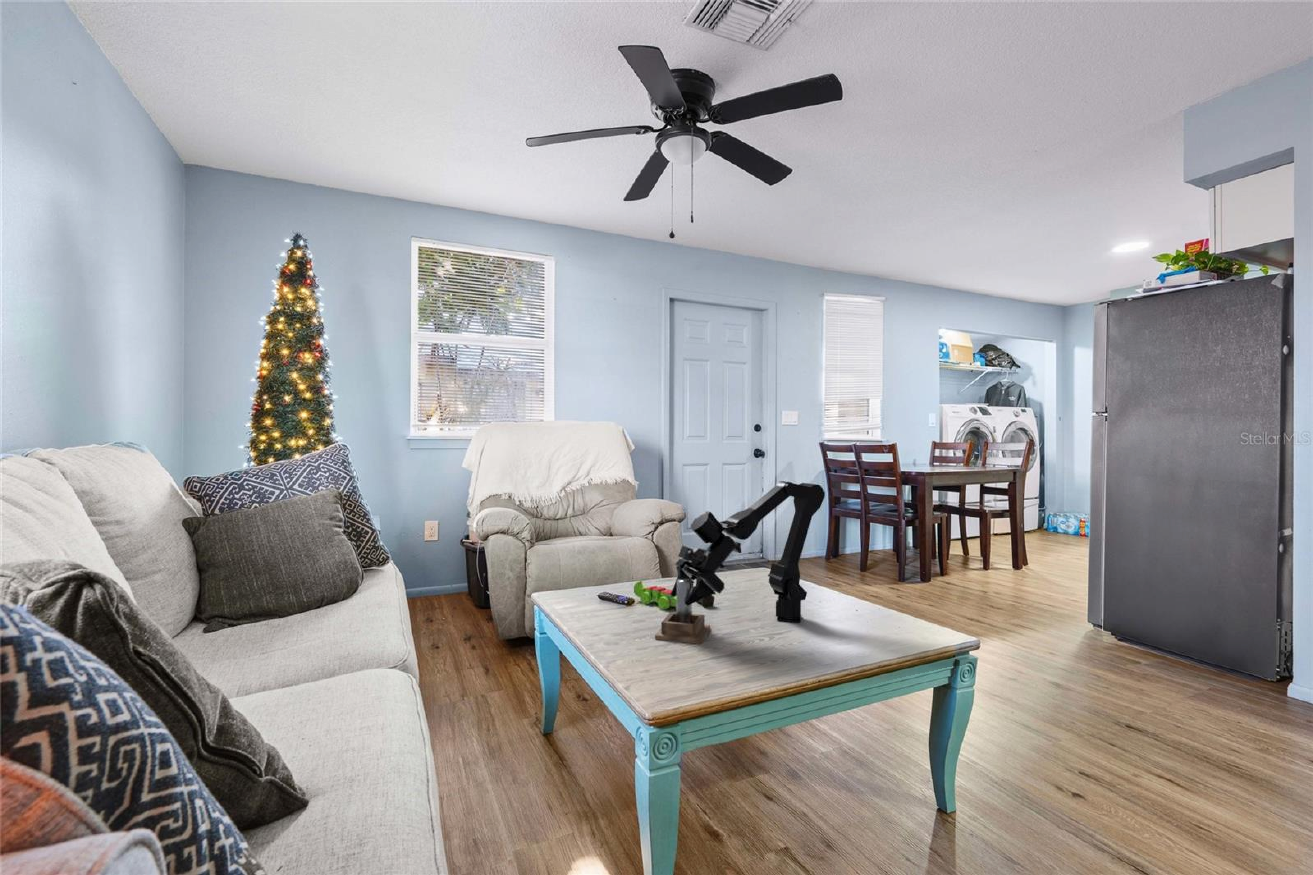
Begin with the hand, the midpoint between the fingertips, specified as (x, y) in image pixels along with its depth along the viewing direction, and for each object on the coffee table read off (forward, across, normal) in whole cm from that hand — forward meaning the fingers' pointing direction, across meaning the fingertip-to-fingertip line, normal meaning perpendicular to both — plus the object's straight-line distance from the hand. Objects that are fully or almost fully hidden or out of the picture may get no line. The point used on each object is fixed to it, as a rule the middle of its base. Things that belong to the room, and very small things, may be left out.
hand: (678, 600), depth 157 cm
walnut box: (+5, 0, +7) cm, 9 cm away
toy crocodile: (+2, -27, +11) cm, 29 cm away
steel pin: (+5, 0, +7) cm, 8 cm away
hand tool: (-6, -28, +20) cm, 35 cm away
